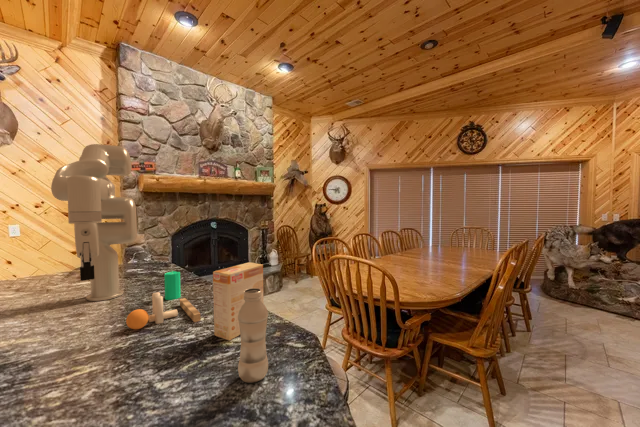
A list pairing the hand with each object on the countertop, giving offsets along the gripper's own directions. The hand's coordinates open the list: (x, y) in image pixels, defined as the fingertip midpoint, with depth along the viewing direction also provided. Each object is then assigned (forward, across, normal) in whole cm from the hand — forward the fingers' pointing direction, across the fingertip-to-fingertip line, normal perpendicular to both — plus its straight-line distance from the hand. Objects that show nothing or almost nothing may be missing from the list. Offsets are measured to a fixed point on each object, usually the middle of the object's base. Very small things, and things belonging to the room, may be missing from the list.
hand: (87, 279), depth 83 cm
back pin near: (+17, -2, -18) cm, 25 cm away
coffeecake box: (+17, -24, -37) cm, 47 cm away
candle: (+17, +22, -27) cm, 39 cm away
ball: (+14, -3, -12) cm, 19 cm away
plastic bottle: (+17, -50, -29) cm, 60 cm away
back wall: (+17, 0, -28) cm, 33 cm away
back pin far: (+17, +2, -18) cm, 25 cm away
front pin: (+16, 0, -15) cm, 22 cm away
